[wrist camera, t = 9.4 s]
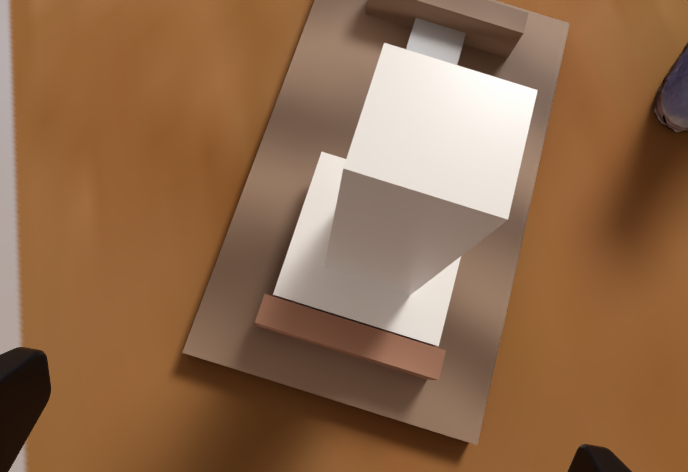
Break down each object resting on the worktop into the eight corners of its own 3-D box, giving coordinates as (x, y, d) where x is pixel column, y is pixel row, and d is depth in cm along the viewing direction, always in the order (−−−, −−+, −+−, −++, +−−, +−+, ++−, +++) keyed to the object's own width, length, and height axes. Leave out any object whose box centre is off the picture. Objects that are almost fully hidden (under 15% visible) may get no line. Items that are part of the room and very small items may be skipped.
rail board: (469, 442, 22) (494, 451, 19) (187, 353, 22) (170, 350, 19) (560, 36, 27) (589, -4, 25) (332, -35, 27) (335, -82, 25)
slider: (433, 347, 21) (567, 315, 10) (274, 297, 21) (245, 214, 10) (469, 205, 22) (616, 52, 12) (320, 159, 22) (337, -34, 12)
